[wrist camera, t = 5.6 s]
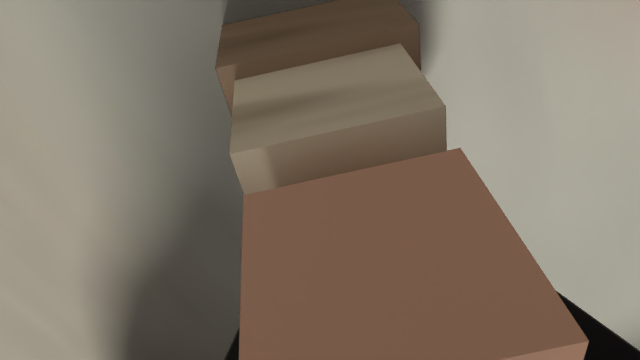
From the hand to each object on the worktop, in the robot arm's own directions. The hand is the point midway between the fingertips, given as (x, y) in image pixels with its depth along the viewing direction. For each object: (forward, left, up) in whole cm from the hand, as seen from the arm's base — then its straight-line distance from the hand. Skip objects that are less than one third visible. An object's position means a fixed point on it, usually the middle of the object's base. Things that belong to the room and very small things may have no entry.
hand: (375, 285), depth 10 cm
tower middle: (0, 0, -6) cm, 7 cm away
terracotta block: (0, 0, -1) cm, 1 cm away
